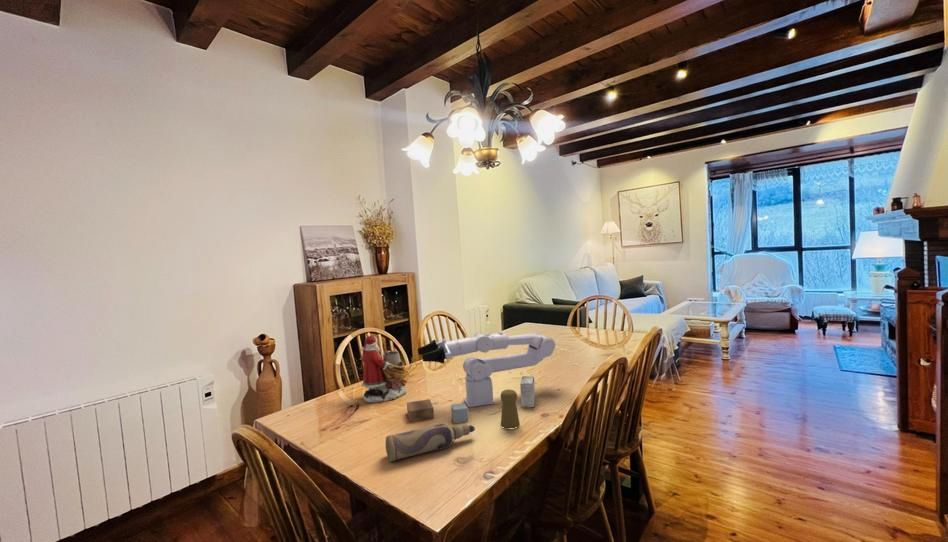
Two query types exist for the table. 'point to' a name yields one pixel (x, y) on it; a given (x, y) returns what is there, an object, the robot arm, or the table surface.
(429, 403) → the walnut block
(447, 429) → the decorative bottle
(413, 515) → the table surface
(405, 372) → the magic lamp
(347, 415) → the table surface
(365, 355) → the santa figurine
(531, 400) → the medicine box
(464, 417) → the slate cube
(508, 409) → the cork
